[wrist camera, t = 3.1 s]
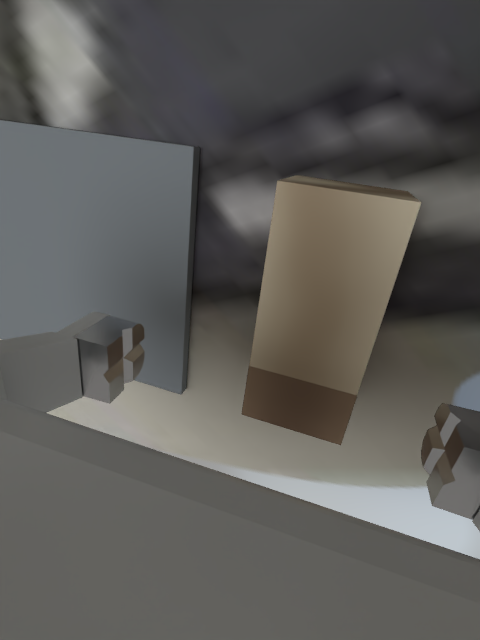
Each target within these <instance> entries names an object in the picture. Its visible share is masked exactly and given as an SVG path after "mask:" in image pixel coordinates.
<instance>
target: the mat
mask: <svg viewBox="0 0 480 640" xmlns="http://www.w3.org/2000/svg"><path fill="white" fill-rule="evenodd" d="M199 155H200V147H195V146H188V145H181V144H173V143H166V142H159V141H152V140H144V139H137V138H130V137H122V136H115V135H108V134H101V133H93V132H86V131H79V130H72V129H64V128H57V127H50V126H43V125H35V124H28V123H21V122H13V121H6V120H0V339H3V340H4V339H10V338H16V337H22V336H28V335H34V334H40V333H45V332H55V333H56V332H58V331H60V330H62V329H63V328H65V327H67V326H69V325H70V324H72V323H74V322H76V321H77V320H79V319H81V318H83V317H84V316H86V315H88V314H90V313H91V312H100V313H104V314H108V315H111V316H115V317H118V318H122V319H125V320H129V321H133V322H136V323H140V324H142V326H143V327H144V337H145V338H144V339H143V340H142V342H141V343H140V345H141V346H142V348H143V350H144V351H145V352H144V363H143V367H142V369H141V371H140V373H139V375H138V376H137V377H136V378H135V379H134V380H136V381H139V382H142V383H145V384H149V385H152V386H155V387H158V388H161V389H165V390H168V391H171V392H174V393H178V394H182V393H183V392H184V391H185V389H186V383H187V366H188V348H189V330H190V313H191V295H192V278H193V260H194V243H195V225H196V208H197V190H198V173H199Z"/></svg>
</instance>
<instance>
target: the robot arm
mask: <svg viewBox="0 0 480 640" xmlns="http://www.w3.org/2000/svg"><path fill="white" fill-rule="evenodd" d="M144 338H145V337H144V327H143V326H142V324H140V323H136V322H133V321H129V320H125V319H122V318H118V317H115V316H111V315H108V314H104V313H100V312H91V313H90V314H88V315H86V316H84V317H83V318H81V319H79V320H77V321H76V322H74V323H72V324H70V325H69V326H67V327H65V328H63V329H62V330H60V331H58V332H56V333H55V332H45V333H40V334H34V335H28V336H22V337H16V338H10V339H4V340H0V640H480V560H479V559H476V558H473V557H471V556H468V555H465V554H462V553H459V552H455V551H453V550H450V549H447V548H444V547H441V546H438V545H435V544H432V543H429V542H426V541H423V540H420V539H417V538H414V537H411V536H408V535H405V534H402V533H400V532H397V531H394V530H391V529H388V528H385V527H381V526H379V525H376V524H373V523H370V522H367V521H364V520H361V519H358V518H355V517H352V516H349V515H346V514H343V513H340V512H337V511H334V510H331V509H328V508H325V507H322V506H320V505H317V504H314V503H311V502H308V501H304V500H302V499H299V498H296V497H293V496H290V495H287V494H284V493H281V492H278V491H275V490H272V489H269V488H266V487H263V486H260V485H257V484H254V483H251V482H248V481H245V480H242V479H239V478H236V477H233V476H230V475H227V474H225V473H221V472H219V471H216V470H213V469H210V468H207V467H204V466H201V465H198V464H195V463H192V462H189V461H186V460H183V459H180V458H177V457H174V456H171V455H168V454H165V453H162V452H159V451H156V450H153V449H151V448H148V447H145V446H142V445H139V444H136V443H133V442H130V441H127V440H124V439H121V438H118V437H115V436H112V435H109V434H106V433H103V432H100V431H97V430H94V429H91V428H88V427H85V426H82V425H79V424H77V423H74V422H71V421H68V420H65V419H62V418H59V417H56V416H53V415H50V414H47V413H46V412H49V411H51V410H54V409H56V408H58V407H61V406H63V405H65V404H68V403H70V402H72V401H75V400H77V399H79V398H82V396H85V397H89V398H92V399H96V400H99V401H103V402H106V403H111V402H112V401H113V400H114V399H115V398H116V397H117V396H118V395H119V394H120V393H121V392H122V391H123V390H124V384H125V383H128V382H131V381H133V380H134V379H135V378H136V377H137V376H138V375H139V373H140V371H141V369H142V367H143V363H144V352H145V351H144V350H143V348H142V346H141V345H140V343H141V342H142V340H143V339H144ZM434 417H435V420H436V423H437V425H436V426H434V427H432V428H430V429H428V430H427V433H426V435H425V437H424V440H423V444H422V450H421V459H422V464H423V468H424V469H425V470H426V471H427V472H428V473H429V474H430V476H429V478H428V480H427V486H428V490H429V494H430V499H431V503H432V506H434V507H437V508H440V509H443V510H446V511H449V512H452V513H455V514H457V515H460V516H463V517H466V518H469V519H472V520H473V523H474V524H475V526H476V527H477V528H478V529H479V531H480V412H478V411H474V410H470V409H465V408H461V407H457V406H453V405H449V404H444V403H442V404H441V405H440V407H439V408H438V410H437V412H436V414H435V416H434Z"/></svg>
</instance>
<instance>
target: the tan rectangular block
mask: <svg viewBox="0 0 480 640" xmlns="http://www.w3.org/2000/svg"><path fill="white" fill-rule="evenodd" d="M420 205H421V202H420V201H419V200H418V199H416V198H415V197H414V196H413V195H411V194H410V193H409V192H408V191H401V190H395V189H388V188H381V187H374V186H367V185H361V184H354V183H347V182H340V181H333V180H327V179H320V178H313V177H306V176H299V175H295V176H292V177H288V178H285V179H281V180H278V181H277V188H276V194H275V201H274V207H273V214H272V220H271V227H270V234H269V240H268V247H267V253H266V260H265V266H264V273H263V279H262V286H261V292H260V299H259V305H258V312H257V319H256V325H255V332H254V338H253V345H252V351H251V358H250V364H249V369H248V375H247V382H246V389H245V395H244V402H243V408H242V415H245V416H248V417H252V418H255V419H258V420H261V421H265V422H268V423H271V424H274V425H277V426H281V427H284V428H287V429H290V430H294V431H297V432H300V433H303V434H306V435H310V436H313V437H316V438H319V439H323V440H326V441H329V442H332V443H335V444H339V445H341V443H342V440H343V437H344V434H345V431H346V428H347V425H348V422H349V419H350V416H351V413H352V410H353V407H354V404H355V401H356V398H357V394H358V391H359V388H360V385H361V382H362V379H363V376H364V373H365V370H366V367H367V364H368V361H369V358H370V355H371V352H372V349H373V346H374V343H375V340H376V337H377V334H378V331H379V328H380V325H381V322H382V319H383V316H384V313H385V310H386V307H387V304H388V301H389V298H390V295H391V292H392V289H393V286H394V283H395V280H396V277H397V274H398V271H399V268H400V265H401V262H402V259H403V256H404V253H405V250H406V247H407V244H408V241H409V238H410V235H411V232H412V229H413V226H414V223H415V220H416V217H417V214H418V211H419V208H420Z"/></svg>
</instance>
